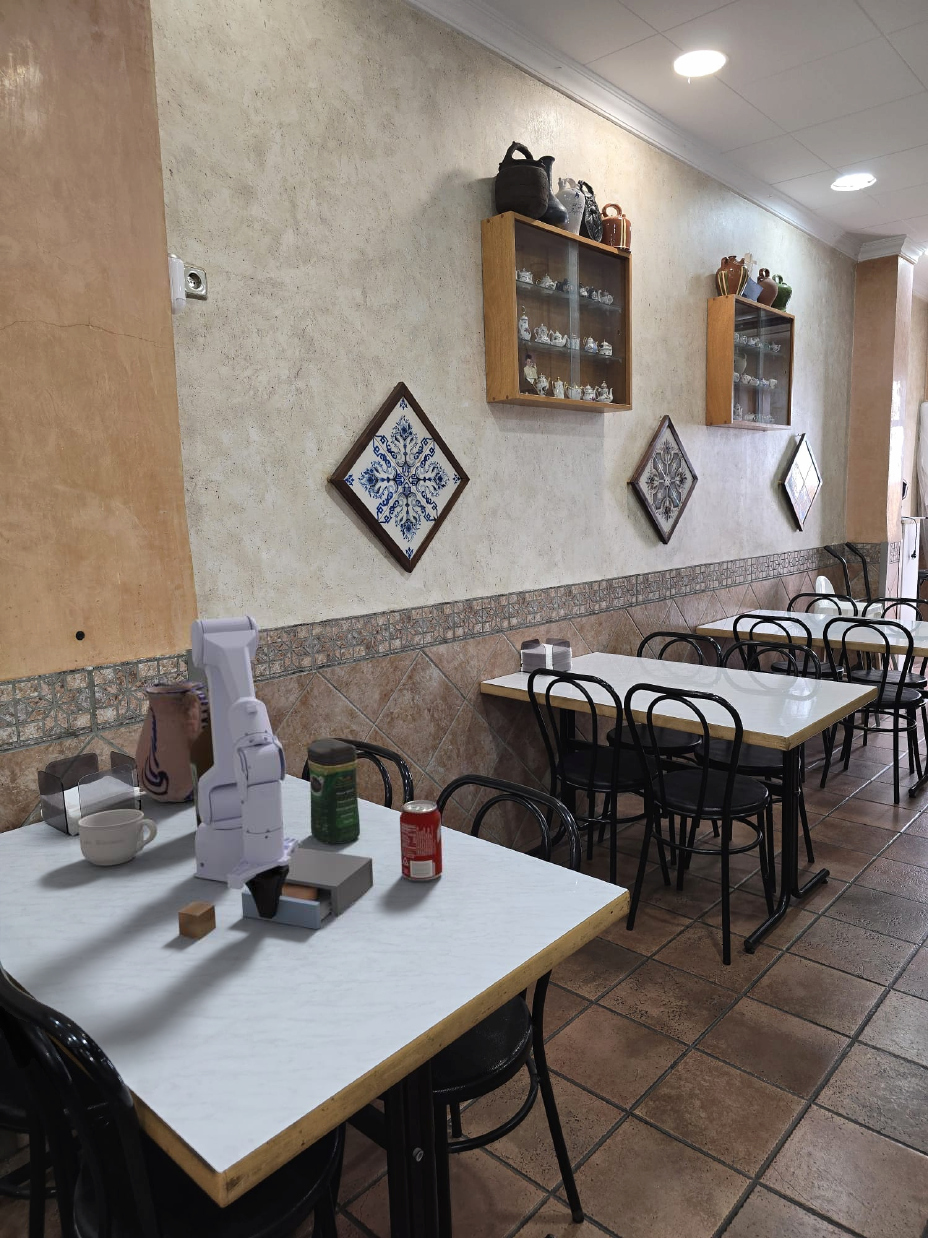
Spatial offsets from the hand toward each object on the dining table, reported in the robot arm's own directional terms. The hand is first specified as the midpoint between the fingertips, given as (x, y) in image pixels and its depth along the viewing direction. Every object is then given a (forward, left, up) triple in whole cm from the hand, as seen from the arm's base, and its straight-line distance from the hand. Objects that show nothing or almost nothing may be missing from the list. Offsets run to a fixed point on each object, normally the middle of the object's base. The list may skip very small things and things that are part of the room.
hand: (267, 916), depth 120 cm
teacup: (-40, +12, -2) cm, 42 cm away
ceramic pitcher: (-53, +44, -2) cm, 69 cm away
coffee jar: (-9, +34, -2) cm, 36 cm away
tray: (+1, +7, -1) cm, 7 cm away
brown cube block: (-9, -5, -2) cm, 10 cm away
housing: (+1, +11, -2) cm, 12 cm away
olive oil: (-32, +30, -2) cm, 44 cm away
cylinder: (+1, +7, -1) cm, 7 cm away
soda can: (+14, +23, -2) cm, 27 cm away
